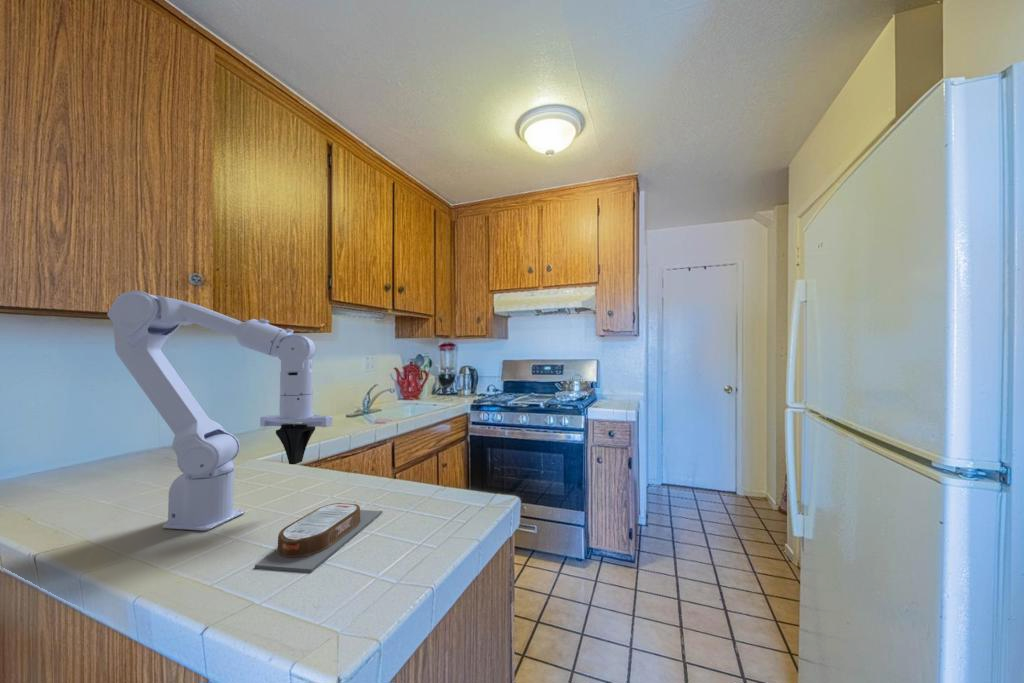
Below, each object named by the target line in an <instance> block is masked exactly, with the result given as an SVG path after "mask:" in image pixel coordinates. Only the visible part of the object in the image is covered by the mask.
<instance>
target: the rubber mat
mask: <svg viewBox="0 0 1024 683" xmlns="http://www.w3.org/2000/svg"><path fill="white" fill-rule="evenodd" d="M381 513H382V514H383V510H370V509H369V510H368V509H366V510H365V509H360V519H361V522H360V524H359V525H358V526H357V527H355V528H354V529H353V530H351V531H350V532H349V533H347V534H346V535H345V536H343V537H342V538H341V539H339V540H338V541H337V542H335V543H334V544H333V545H331V546H330V547H328V548H327V549H325V550H323V551H320V552H318V553H315V554H312V555H309V556H303V557H296V558H288V557H283V556H280V555H279V554H278V553H277V550H274V551H273V552H272V553H271V554H269V555H268V556H266V557H264V558H263V559H262V560H260V561H259V562H257V563H255V564H254V569H262V570H263V569H264V570H277V571H279V570H280V571H290V572H302V573H303V572H304V573H312V572H314V571H315V570H316V569H317V568H319V567H320V566H321V565H322V564H323V563H324V562H326V561H327V560H328V559H329V558H330V557H332V556H333V555H334V554H335V553H336V552H338V551H339V550H340V549H341V548H342V547H344V546H345V545H346V544H347V543H349V542H350V541H351V540H352V539H353V538H355V537H356V536H357V535H358V534H359V533H361V532H362V531H363V530H364V529H365V528H366V527H368V526H369V525H370V524H372V523H373V520H374V519H375V518H376V519H377V518H379V517H380V516H381V515H382V514H381ZM380 514H381V515H380ZM379 515H380V516H379ZM376 519H375V520H376ZM375 520H374V521H375Z"/></svg>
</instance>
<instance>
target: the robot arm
mask: <svg viewBox="0 0 1024 683" xmlns="http://www.w3.org/2000/svg"><path fill="white" fill-rule="evenodd" d="M107 317H108V318H109V319H110V321H111V322H112V324H113V335H114V336H113V338H114V350H115V352H116V355H117V356H118V358H119V360H120V361H121V362H122V363H123V365H124V366H125V367H126V369H127V370H128V372H129V373H130V375H131V376H132V377H133V379H134V380H135V381H136V383H137V384H138V386H139V387H140V388H141V390H142V391H143V392H144V394H145V395H146V396H147V398H148V399H149V401H150V402H151V404H152V405H153V406H154V408H155V410H157V412H158V413H159V415H160V416H161V417H162V419H163V420H164V421H165V423H166V425H167V426H168V427H169V428H170V430H171V431H172V433H173V434H174V436H173V439H172V440H173V441H172V445H171V449H172V450H173V451H174V452H175V453H174V454H176V462H177V467H178V469H179V470H180V472H182V474H180V475H179V476H177V477H176V478H175V479H174V480H173V482H172V483H171V485H170V487H169V490H168V505H167V506H168V507H167V523H165V524H162V528H163V529H173V530H190V531H191V530H192V531H210V530H211V529H214V528H216V527H218V526H219V525H222V524H224V523H226V522H229V521H231V520H233V519H235V518H236V517H238V516H241V515H243V514H245V513H246V510H245V509H234V500H235V499H234V497H235V493H234V492H235V491H234V489H235V465H234V460H235V459H236V458H237V457H238V455H239V453H240V449H241V444H240V441H239V439H238V437H236V436H235V435H234V434H232V433H230V432H228V431H227V430H225V429H224V427H223V426H222V424H220V423H218V422H217V421H214V420H212V419H211V418H209V416H208V415H207V413H206V412H205V411H204V409H203V408H202V406H201V405H200V404H199V403H198V401H197V399H196V398H195V397H194V395H193V394H192V393H191V391H190V390H189V388H188V387H187V386H186V384H185V383H184V381H183V380H182V379H181V377H180V375H179V374H178V373H177V371H176V370H175V368H174V367H173V366H172V364H171V363H170V361H169V360H168V358H167V357H166V356H165V354H164V353H163V352H162V349H163V348H162V347H163V345H164V344H165V342H166V340H167V339H169V338H170V336H172V334H173V333H175V331H177V329H179V327H180V326H190V325H198V326H200V327H204V328H207V329H209V330H210V329H211V330H213V331H216V332H220V333H222V334H226V335H230V336H233V337H235V338H236V340H237V342H238V344H239V345H240V346H241V347H244V348H245V349H246V348H247V349H249V350H252V351H256V352H258V353H262V354H265V355H267V356H271V357H274V358H275V357H277V358H278V359H279V360H280V372H279V374H280V375H279V378H280V379H279V414H278V415H264V416H260V420H259V421H260V422H259V423H260V427H262V428H263V427H280V428H279V429H276V430H275V435H276V436H277V437H278V438H279V440H280V442H281V444H282V446H283V448H284V451H285V454H286V457H287V461H288V464H289V465H298V464H300V463H302V462H303V459H304V455H305V451H306V448H307V447H308V443H309V441H310V439H311V438H312V435H313V434H314V432H315V431H316V427H318V428H320V427H321V428H328V427H332V426H333V415H321V414H313V400H314V399H313V398H314V396H313V394H314V393H313V392H314V389H313V388H314V387H313V383H314V382H313V380H314V377H313V376H314V372H313V358H314V357H315V354H316V352H317V348H316V344H315V343H314V341H313V340H312V339H310V338H309V337H307V336H305V335H303V334H300V335H299V334H294V330H293V329H290V328H286V329H283V328H281V327H278V326H276V325H272V324H270V320H267V319H265V318H259V319H256V318H252V319H249V320H246V321H241V320H238V319H236V318H233V317H230V316H228V315H225V314H222V313H220V312H218V311H215V310H212V309H210V308H206V307H204V306H202V305H199V304H196V303H192V302H188V301H184V300H180V299H176V298H171V297H167V296H162V295H158V294H155V295H154V294H150V293H148V292H146V291H141V290H129V291H126V292H122V293H121V294H120V295H118V296H117V297H116V298H115V299H114V301H113V303H112V305H111V307H110V308H109V310H108V312H107Z"/></svg>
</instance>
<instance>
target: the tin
mask: <svg viewBox="0 0 1024 683" xmlns="http://www.w3.org/2000/svg"><path fill="white" fill-rule="evenodd" d="M360 510H361V507H360V505H359V504H357V503H342V502H336V503H331V504H327V505H324V506H321V507H318V508H317V509H315V510H312V511H311V512H309V513H307V514H306V515H304V516H303V517H300V518H298V519H297V520H295V521H293V522H292V523H290V524H288V525H287V526H285V527H283V528H282V529H281V530H280V531H279V532H278V536H277V548H276V551H277V553H278V554H279V555H280V556H283V557H288V558H296V557H303V556H309V555H312V554H315V553H318V552H320V551H323V550H325V549H327V548H328V547H330V546H331V545H333V544H334V543H335V542H337V541H338V540H339V539H341V538H342V537H343V536H345V535H346V534H347V533H349V532H350V531H351V530H353V529H354V528H355V527H357V526H358V525H359V524H360V522H361V519H360Z"/></svg>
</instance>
